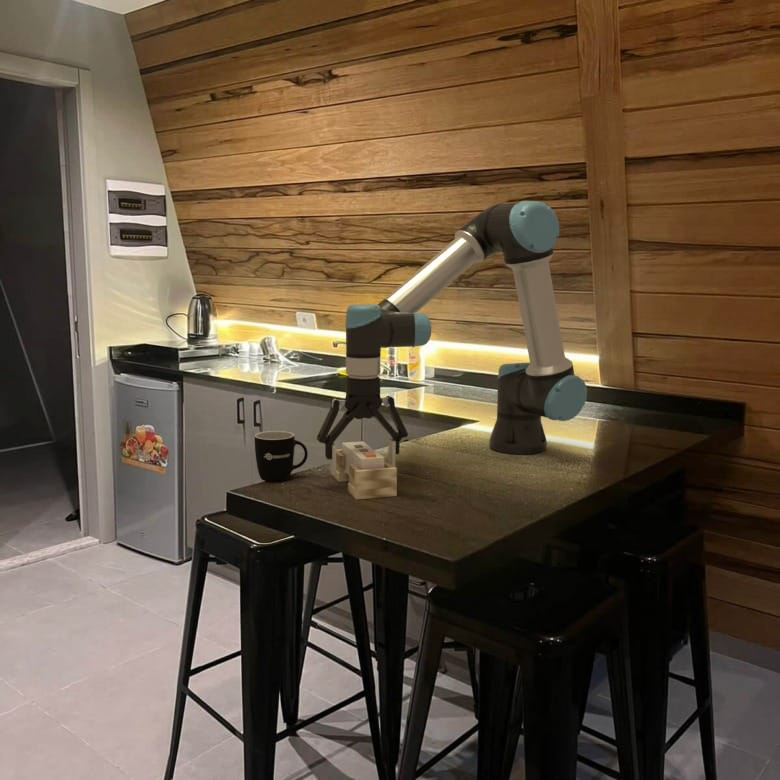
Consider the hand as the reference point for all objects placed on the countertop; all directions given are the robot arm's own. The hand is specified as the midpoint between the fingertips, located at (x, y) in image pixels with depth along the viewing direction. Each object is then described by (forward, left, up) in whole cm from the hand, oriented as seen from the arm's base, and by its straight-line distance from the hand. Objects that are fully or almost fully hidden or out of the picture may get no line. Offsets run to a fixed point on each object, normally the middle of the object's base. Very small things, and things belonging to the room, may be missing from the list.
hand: (362, 471), depth 176 cm
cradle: (0, 0, -3) cm, 3 cm away
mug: (+16, -11, -3) cm, 20 cm away
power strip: (0, 0, -1) cm, 1 cm away
